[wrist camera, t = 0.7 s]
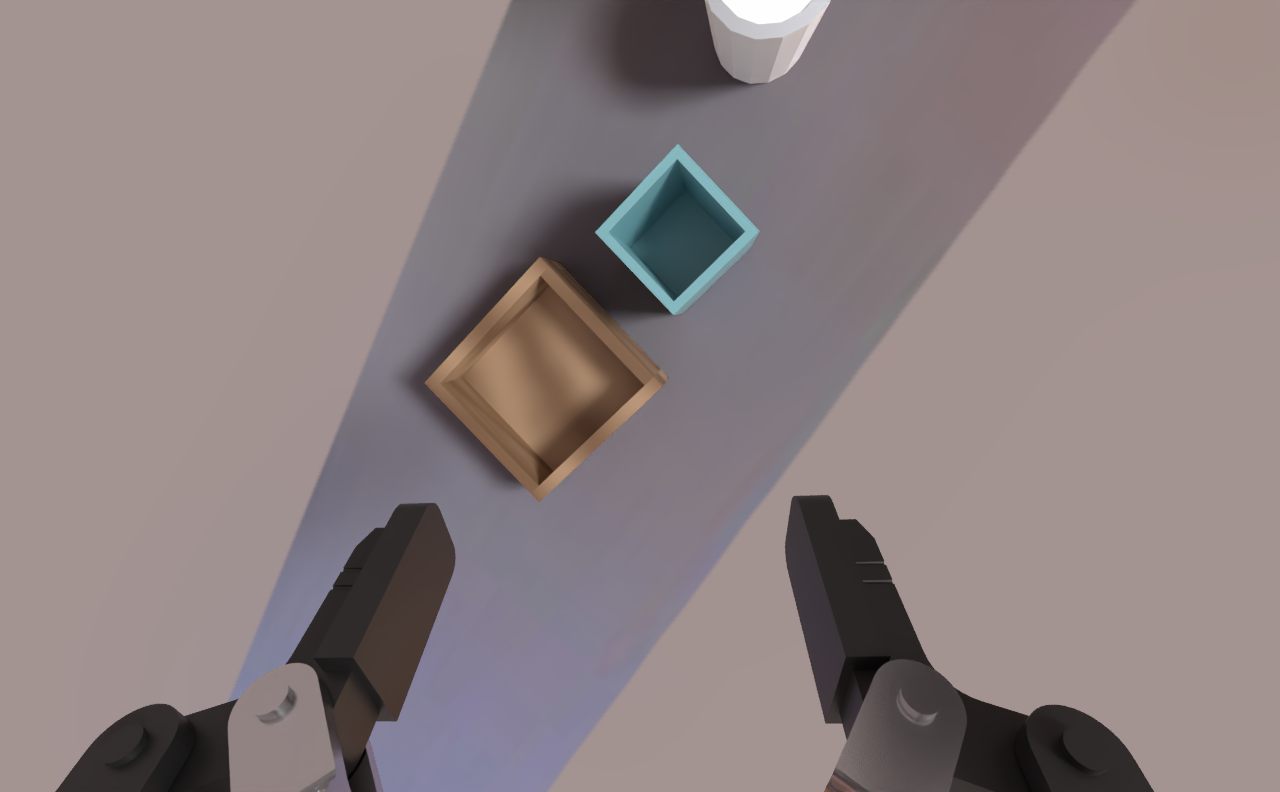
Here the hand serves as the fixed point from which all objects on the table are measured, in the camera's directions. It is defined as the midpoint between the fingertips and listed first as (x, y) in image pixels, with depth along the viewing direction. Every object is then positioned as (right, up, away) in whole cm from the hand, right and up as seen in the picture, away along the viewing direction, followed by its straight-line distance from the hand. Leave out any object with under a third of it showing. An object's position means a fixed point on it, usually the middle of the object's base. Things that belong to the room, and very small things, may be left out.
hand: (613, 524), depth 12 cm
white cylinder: (+8, +25, +20) cm, 33 cm away
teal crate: (+4, +13, +23) cm, 26 cm away
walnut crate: (-5, +4, +25) cm, 26 cm away
